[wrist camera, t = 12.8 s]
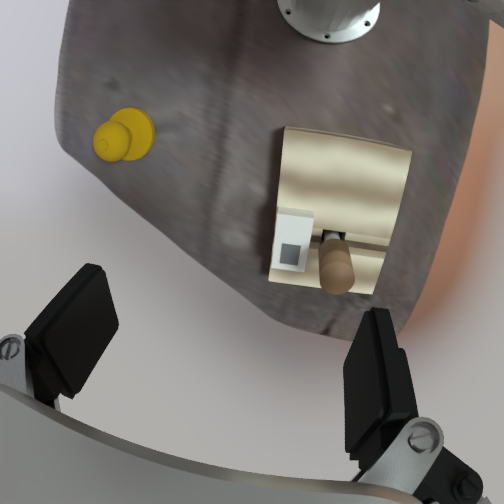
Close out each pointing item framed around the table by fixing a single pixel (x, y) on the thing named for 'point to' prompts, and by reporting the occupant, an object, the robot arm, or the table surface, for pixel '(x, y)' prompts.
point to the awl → (335, 264)
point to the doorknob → (125, 136)
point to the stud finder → (292, 238)
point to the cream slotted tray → (342, 198)
